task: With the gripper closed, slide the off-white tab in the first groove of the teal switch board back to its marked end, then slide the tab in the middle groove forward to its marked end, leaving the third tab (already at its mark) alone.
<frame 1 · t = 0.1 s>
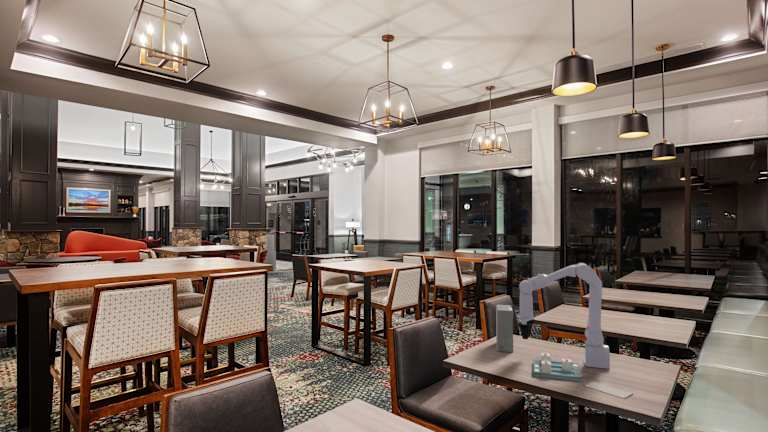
hand: (526, 336, 189), 10 cm above the table, tool pointing down, fingers open, 7 cm apart
tab a: (545, 358, 179), point 3 cm above the table, slide at 8.0 cm
tab c: (546, 366, 169), point 3 cm above the table, slide at 8.0 cm
hard drive box: (504, 347, 207), on the table
smartphone: (607, 391, 154), on the table
tab b: (566, 364, 172), point 3 cm above the table, slide at 0.0 cm
switch board: (556, 371, 173), on the table
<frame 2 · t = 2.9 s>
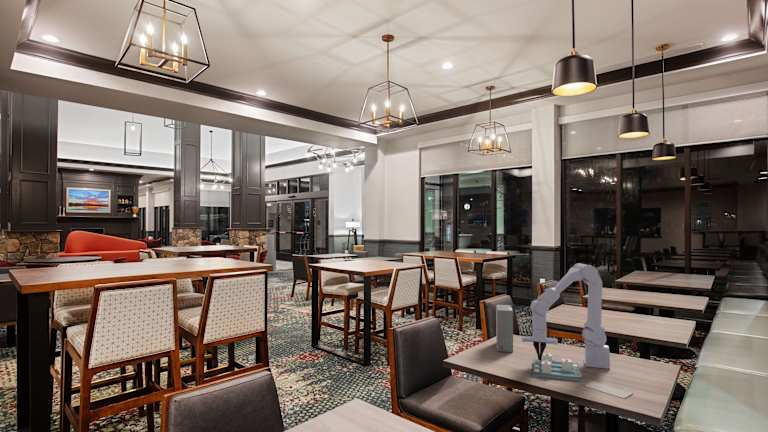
hand: (539, 359, 180), 3 cm above the table, tool pointing down, fingers closed
tab a: (547, 358, 179), point 3 cm above the table, slide at 7.2 cm, touching gripper
everything else where it was.
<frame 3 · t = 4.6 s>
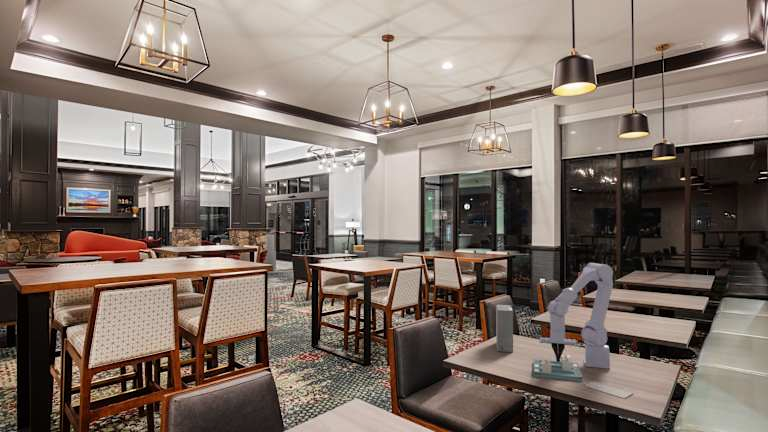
hand: (558, 361, 178), 3 cm above the table, tool pointing down, fingers closed
tab a: (565, 360, 177), point 3 cm above the table, slide at 0.0 cm, touching gripper
everything else where it was.
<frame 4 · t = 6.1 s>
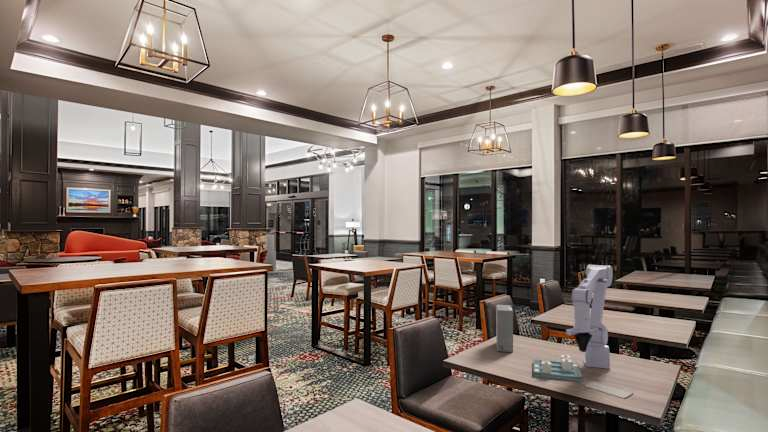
hand: (582, 351, 170), 9 cm above the table, tool pointing down, fingers closed
tab a: (565, 360, 177), point 3 cm above the table, slide at 0.0 cm
everything else where it was.
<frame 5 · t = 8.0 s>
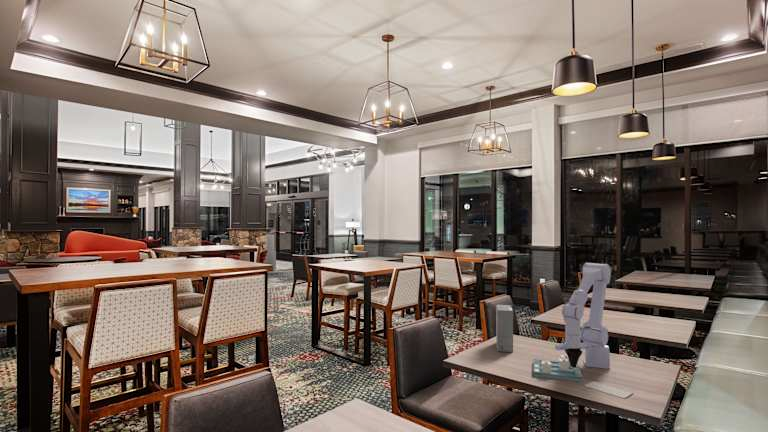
hand: (573, 366, 171), 3 cm above the table, tool pointing down, fingers closed
tab b: (563, 364, 172), point 3 cm above the table, slide at 1.1 cm, touching gripper
everything else where it was.
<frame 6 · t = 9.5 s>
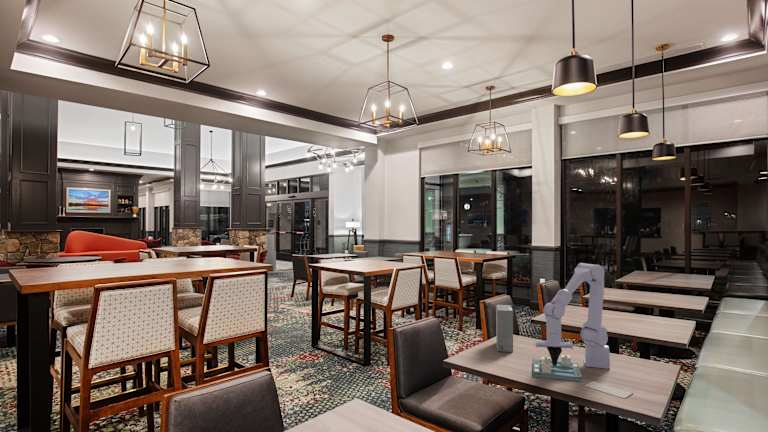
hand: (554, 364, 173), 3 cm above the table, tool pointing down, fingers closed
tab b: (545, 362, 174), point 3 cm above the table, slide at 8.0 cm, touching gripper
everything else where it was.
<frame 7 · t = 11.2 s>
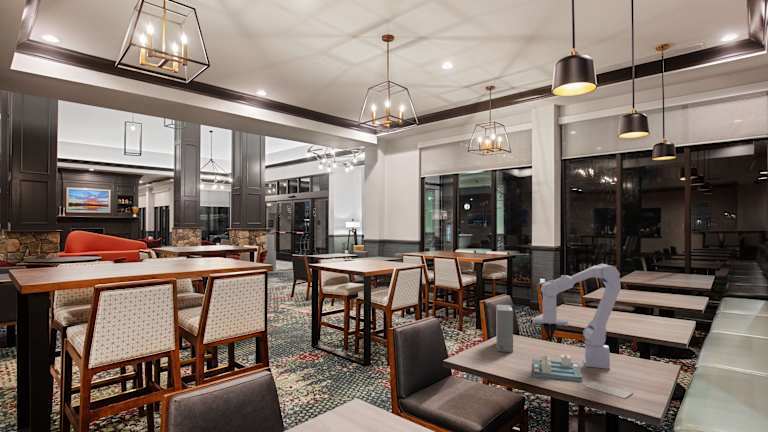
hand: (550, 340, 183), 10 cm above the table, tool pointing down, fingers closed
tab b: (545, 362, 174), point 3 cm above the table, slide at 8.0 cm
everything else where it was.
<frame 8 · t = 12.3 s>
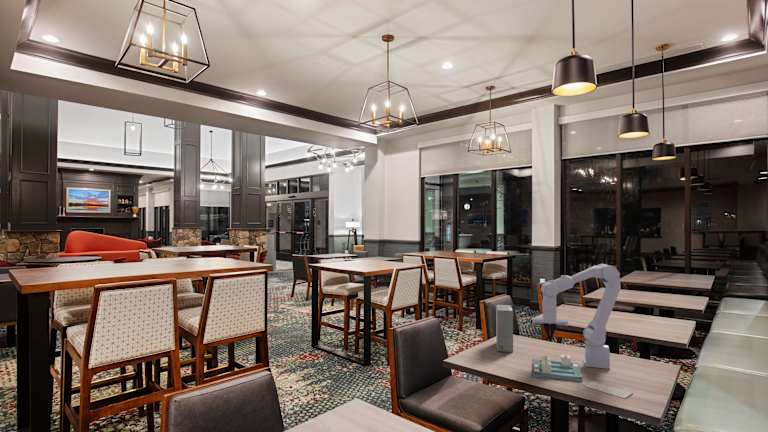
hand: (550, 340, 183), 10 cm above the table, tool pointing down, fingers closed
nothing on the table moved.
at the end: tab a slide at 0.0 cm; tab b slide at 8.0 cm; tab c slide at 8.0 cm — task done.
